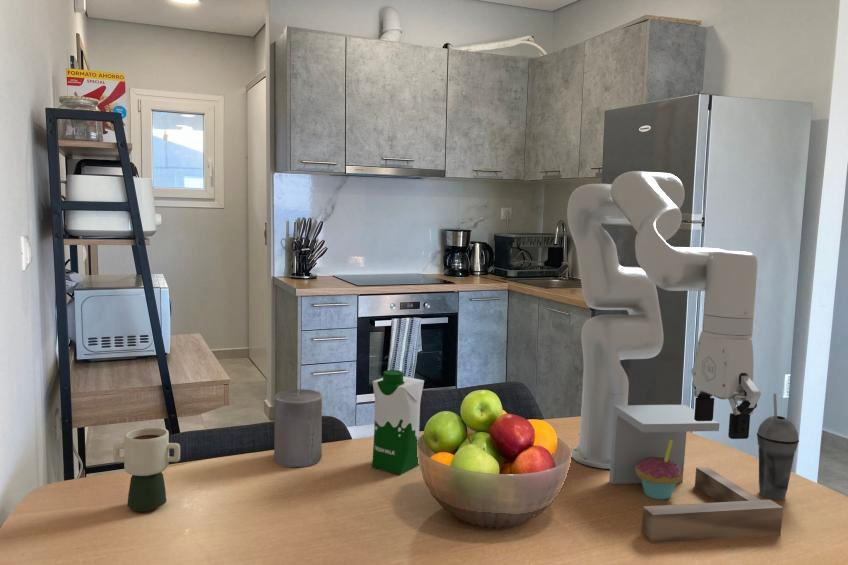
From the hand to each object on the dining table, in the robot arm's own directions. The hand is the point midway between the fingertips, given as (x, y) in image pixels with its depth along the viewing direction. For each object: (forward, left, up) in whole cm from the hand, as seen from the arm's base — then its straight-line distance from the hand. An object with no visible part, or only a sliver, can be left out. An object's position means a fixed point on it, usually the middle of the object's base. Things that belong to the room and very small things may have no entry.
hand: (720, 429), depth 113 cm
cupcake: (-16, -1, -18) cm, 25 cm away
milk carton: (-34, -49, -18) cm, 63 cm away
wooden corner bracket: (-9, 0, -18) cm, 20 cm away
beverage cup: (-14, +22, -18) cm, 32 cm away
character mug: (-18, -94, -18) cm, 98 cm away
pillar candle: (-39, -69, -18) cm, 82 cm away
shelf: (-17, 0, -18) cm, 25 cm away
